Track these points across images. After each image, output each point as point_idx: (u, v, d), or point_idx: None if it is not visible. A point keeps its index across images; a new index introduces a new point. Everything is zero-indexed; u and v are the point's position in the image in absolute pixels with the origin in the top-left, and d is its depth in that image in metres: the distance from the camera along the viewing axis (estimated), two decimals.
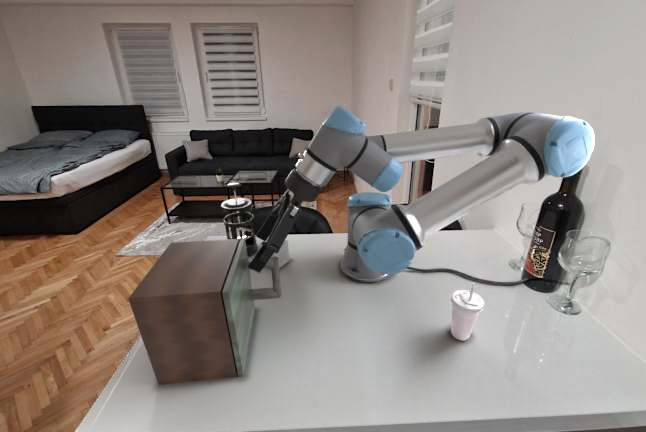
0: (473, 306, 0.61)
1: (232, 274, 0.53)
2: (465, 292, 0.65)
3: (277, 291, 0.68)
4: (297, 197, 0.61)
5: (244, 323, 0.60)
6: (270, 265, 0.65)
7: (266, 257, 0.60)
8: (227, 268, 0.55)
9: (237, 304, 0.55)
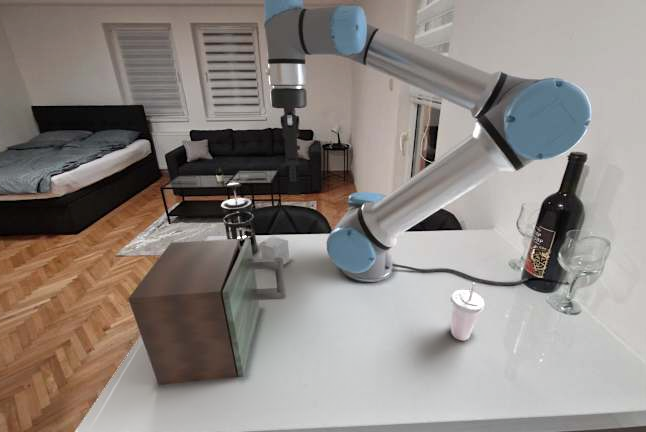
0: (473, 306, 0.61)
1: (234, 274, 0.53)
2: (465, 292, 0.65)
3: (281, 292, 0.68)
4: (287, 108, 0.61)
5: (246, 323, 0.60)
6: (274, 266, 0.65)
7: (294, 175, 0.62)
8: (227, 268, 0.55)
9: (238, 304, 0.55)
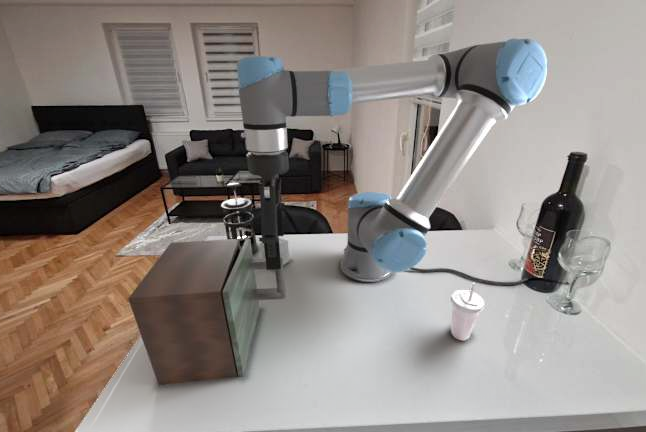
0: (473, 306, 0.61)
1: (234, 274, 0.53)
2: (465, 292, 0.65)
3: (281, 292, 0.68)
4: (265, 177, 0.54)
5: (246, 323, 0.60)
6: None
7: (273, 251, 0.55)
8: (227, 268, 0.55)
9: (238, 304, 0.55)
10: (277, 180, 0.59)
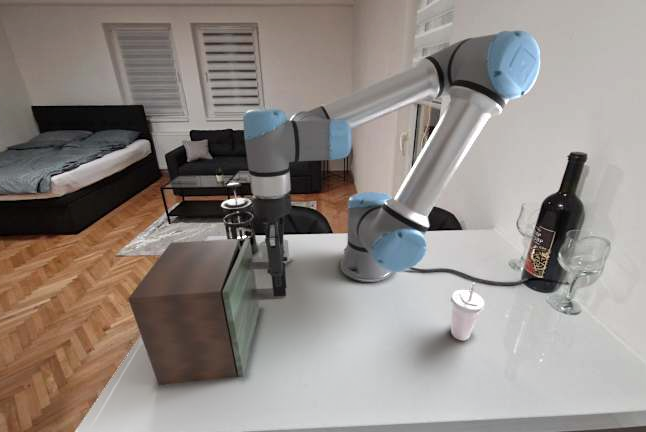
0: (473, 306, 0.61)
1: (234, 274, 0.53)
2: (465, 292, 0.65)
3: None
4: (269, 218, 0.57)
5: (246, 323, 0.60)
6: None
7: (279, 281, 0.64)
8: (227, 268, 0.55)
9: (238, 304, 0.55)
10: (280, 218, 0.62)
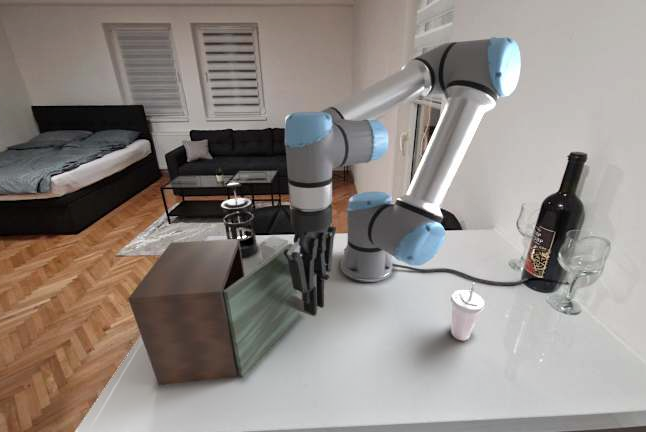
0: (473, 306, 0.61)
1: (247, 276, 0.53)
2: (465, 292, 0.65)
3: None
4: (296, 231, 0.53)
5: (262, 327, 0.59)
6: None
7: (306, 298, 0.59)
8: (227, 268, 0.55)
9: (249, 307, 0.54)
10: (320, 234, 0.56)
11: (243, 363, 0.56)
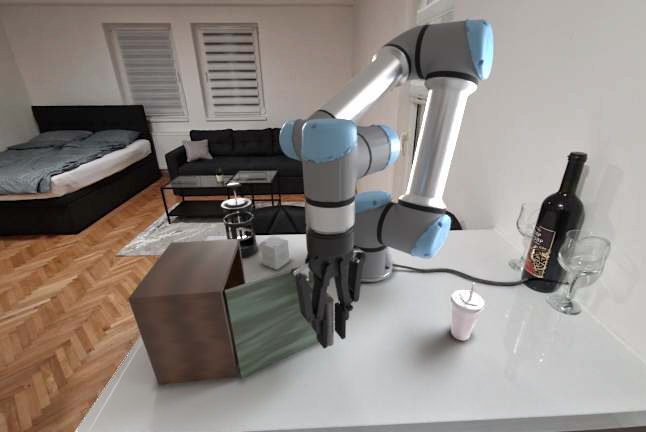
0: (473, 306, 0.61)
1: (255, 283, 0.51)
2: (465, 292, 0.65)
3: None
4: (308, 251, 0.47)
5: (271, 337, 0.57)
6: None
7: (314, 327, 0.52)
8: (227, 268, 0.55)
9: (254, 313, 0.53)
10: (339, 260, 0.48)
11: (243, 365, 0.56)
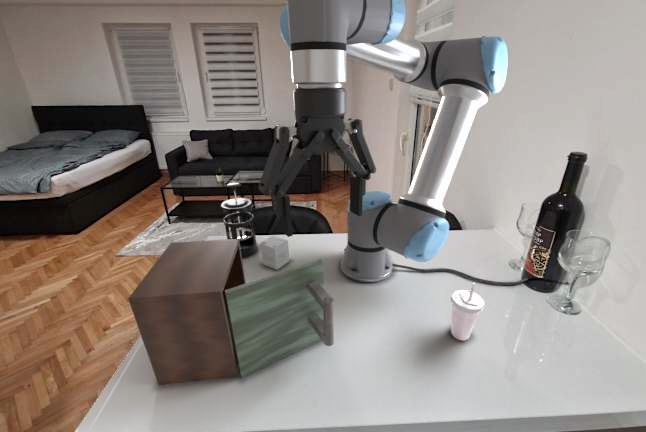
0: (473, 306, 0.61)
1: (255, 283, 0.51)
2: (465, 292, 0.65)
3: (325, 337, 0.56)
4: (296, 116, 0.42)
5: (271, 337, 0.57)
6: (321, 304, 0.54)
7: (275, 208, 0.45)
8: (227, 268, 0.55)
9: (254, 313, 0.53)
10: (330, 130, 0.44)
11: (243, 365, 0.56)
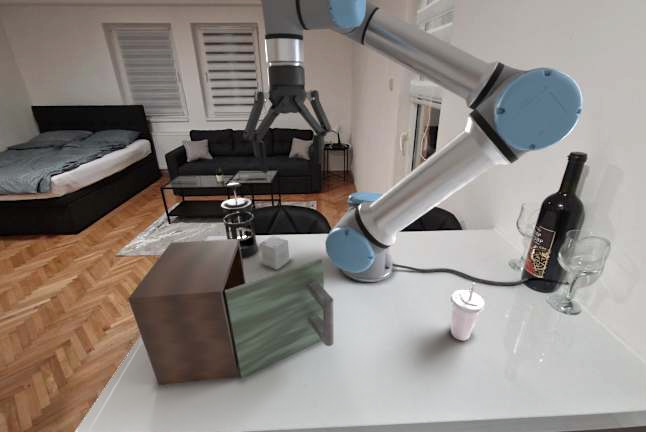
0: (473, 306, 0.61)
1: (255, 283, 0.51)
2: (465, 292, 0.65)
3: (325, 337, 0.56)
4: (269, 85, 0.62)
5: (271, 337, 0.57)
6: (321, 304, 0.54)
7: (255, 151, 0.64)
8: (227, 268, 0.55)
9: (254, 313, 0.53)
10: (294, 96, 0.63)
11: (243, 365, 0.56)
